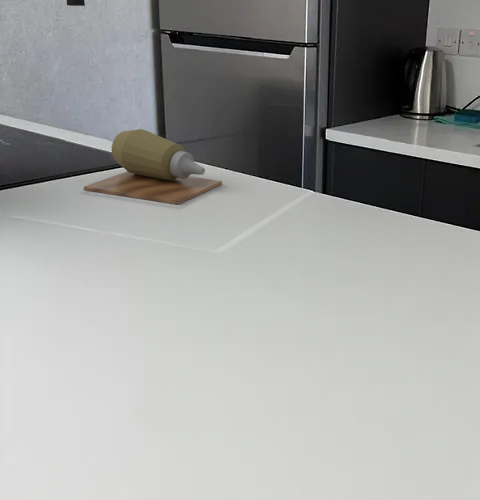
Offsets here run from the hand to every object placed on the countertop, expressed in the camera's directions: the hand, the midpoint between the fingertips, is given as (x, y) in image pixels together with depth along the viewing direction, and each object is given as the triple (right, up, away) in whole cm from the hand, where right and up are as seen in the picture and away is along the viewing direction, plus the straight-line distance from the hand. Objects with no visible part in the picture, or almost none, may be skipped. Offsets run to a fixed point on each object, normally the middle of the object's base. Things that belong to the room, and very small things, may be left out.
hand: (75, 5), depth 117 cm
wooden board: (+14, -31, -1) cm, 34 cm away
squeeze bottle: (+6, -23, +5) cm, 25 cm away
